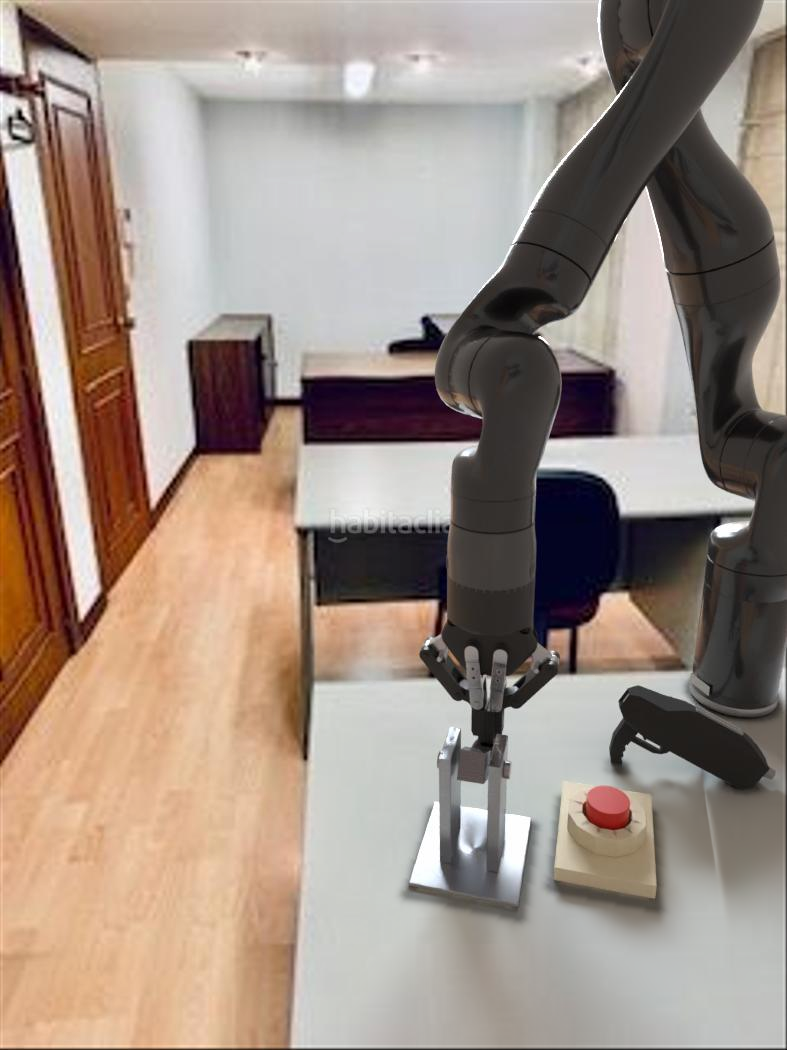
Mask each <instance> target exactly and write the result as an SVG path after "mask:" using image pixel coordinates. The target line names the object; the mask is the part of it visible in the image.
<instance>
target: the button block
mask: <svg viewBox="0 0 787 1050" xmlns="http://www.w3.org/2000/svg"><path fill="white" fill-rule="evenodd" d="M597 786H598V785H593V784H587V783H579V782H573V781H565V780H563V781H562V787H561V798H560V808H559V817H558V827H557V836H556V837H557V838H556V847H555V855H554V856H555V858H554V864H553V865H554V867H553V880H554V881H558V882H564V883H568V884H569V883H570V884H574V885H579V886H584V887H585V886H586V887H590V888H595V889H600V890H605V891H606V890H607V891H612V892H617V893H622V894H627V895H634V896H637V897H643V898H650V899H654V900H655V899H656V895H657V887H658V885H657V884H658V883H657V866H656V851H655V835H654V834H655V833H654V816H653V815H654V814H653V800H652V799H653V798H652V794H650V793H645V792H637V791H632V790H631V791H629V790H624V789H620V790H621V791H622V792H624V793H625V794H626V795H627V796H628V798H629V800H630V810H629V820H628V823H627V825H626V826H625V827H623V828H622V829H618V830H609V829H603V828H599V827H597V826H595V825H594V824H592V823H591V822H590V821H589V820H588V819H587V817H586V799H587V794H588V792H589V791H590V790H591V789H592V788H594V787H597Z"/></svg>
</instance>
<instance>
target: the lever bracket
mask: <svg viewBox="0 0 787 1050" xmlns="http://www.w3.org/2000/svg"><path fill="white" fill-rule="evenodd" d="M460 749H462V728H458V727H453V726H452V727H451V726H450V727H449V728H448V731H447V734H446V737H445V739H444V743H443V746H442V749H441V750H439V751H438V753H437V756H436V757H437V758H436V768H437V769H438V801H434V803H433V807H432V810H431V813H430V816H429V819H428V822H427V825H426V828H425V831H424V834H423V837H422V840H421V844H420V847H419V849H418V853H417V856H416V859H415V862H414V865H413V868H412V872H411V874H410V878H409V881H408V886H409V887H412V888H418V889H424V890H428V891H434V892H438V893H443V894H448V895H454V896H459V897H462V898H469V899H474V900H477V901H478V900H479V901H483V902H489V903H493V904H499V905H503V906H507V907H508V906H509V907H514V908H519V904H520V899H521V890H522V883H523V878H524V871H525V864H526V858H527V851H528V844H529V838H530V832H531V831H530V830H531V825H532V817H530V816H523V815H518V814H512V813H507V791H508V790H507V789H508V787H507V784H508V780H510V779H511V775H512V761H510V760H508V759H509V758H508V757H509V755H508V753H509V752H508V751H509V735H507V734H502V735H501V734H496V738H495V742H494V746H493V750H492V754H491V758H490V762H489V766H488V780H487V809H483V808H477V807H470V806H464V805H462V804H461V803H462V797H461V795H462V791H461V790H462V781H460V780H457V772H458V762H459V752H460Z"/></svg>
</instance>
